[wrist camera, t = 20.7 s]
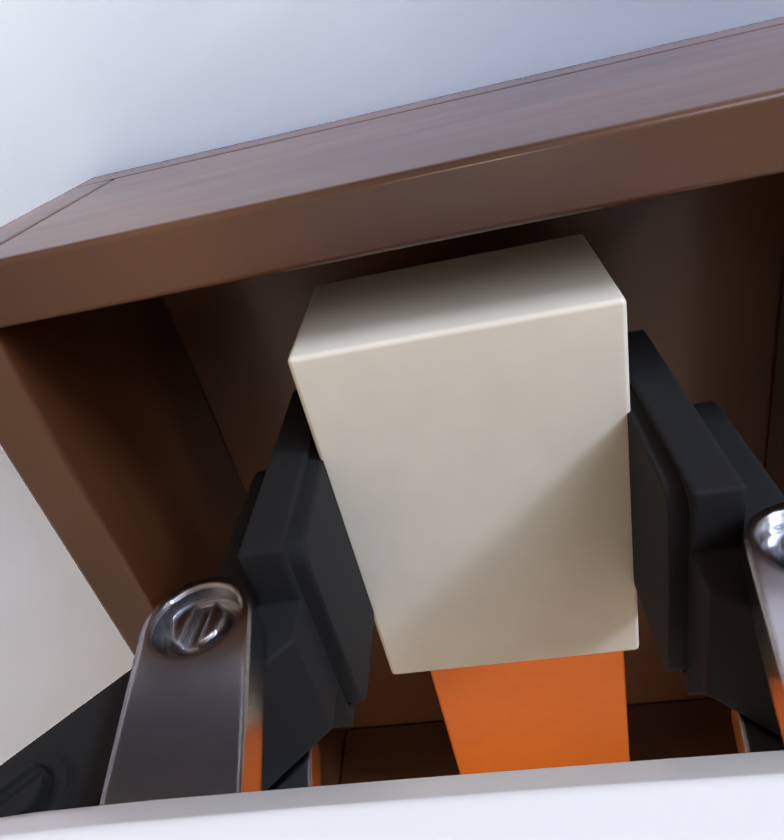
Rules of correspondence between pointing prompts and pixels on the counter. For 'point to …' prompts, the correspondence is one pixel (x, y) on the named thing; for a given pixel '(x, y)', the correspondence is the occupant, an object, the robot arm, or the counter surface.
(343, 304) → the cream rectangular block
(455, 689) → the orange rectangular block
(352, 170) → the holder
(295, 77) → the counter surface
